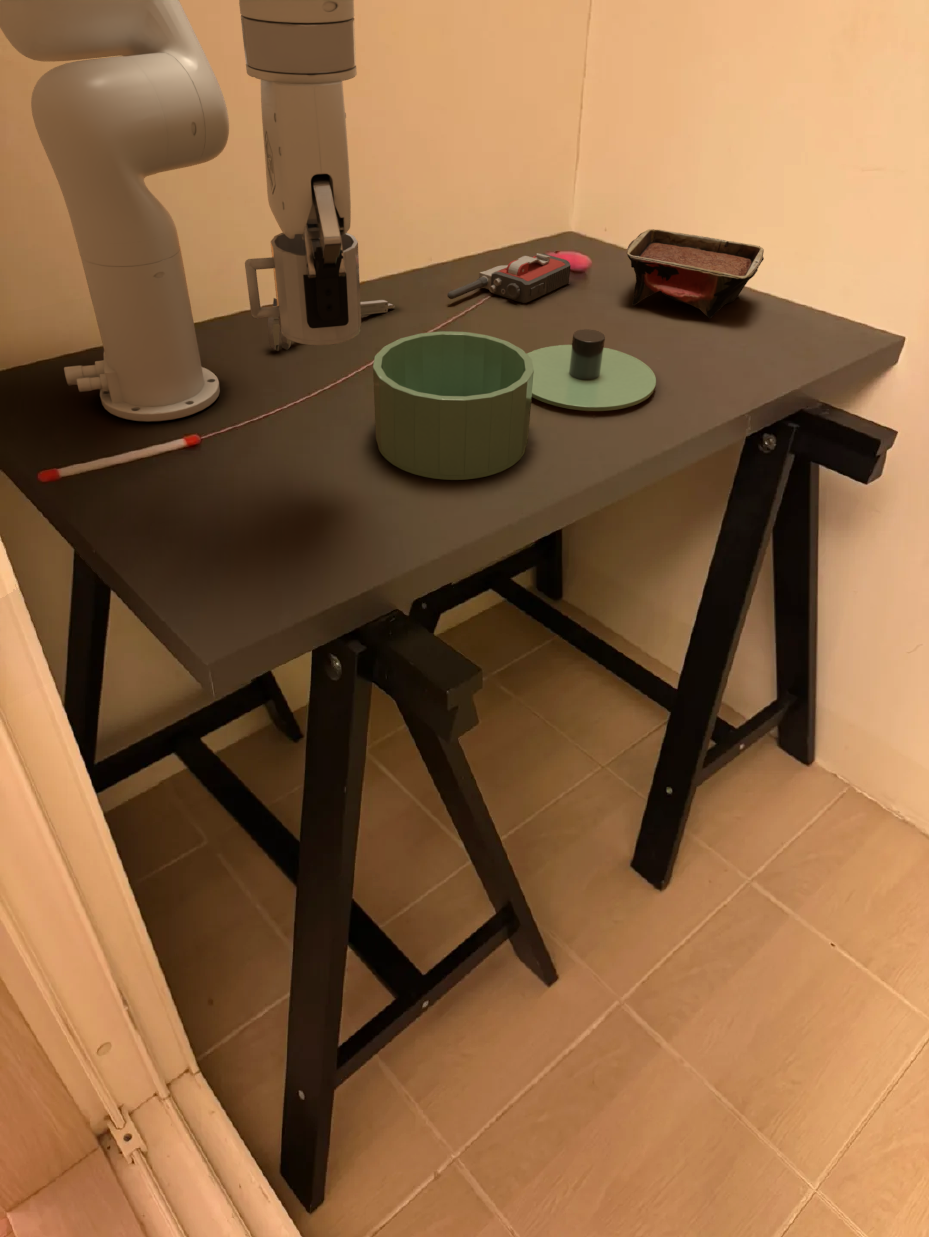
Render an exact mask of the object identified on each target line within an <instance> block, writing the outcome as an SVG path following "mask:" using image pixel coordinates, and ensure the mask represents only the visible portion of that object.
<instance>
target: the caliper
mask: <svg viewBox="0 0 929 1237" xmlns="http://www.w3.org/2000/svg"><path fill="white" fill-rule="evenodd" d="M360 305H361V316H370V315H377V314H379V315H380V314H387V313H388V311H389V309H395V308H396V305H394V304H392V303H389V301H387V300H385V299H376V300H369V301H368V300H367V301H366V300H365V301H360ZM275 306H277V299H276V298H275V297H273V302H272V307H275ZM266 326H267V336H268V342H269V343H268V344H269V348H270V349H272V350H274V351H277V352H279V351H280V339H281V348H282V349H284V350H286V351H288V350H289V349H290V347H291V346H292V342H293V341H291V340H289V339H287V338H286V337H284V336H283V335H282V334H281V331H280V325H279V318H278V317H270V318H267V325H266Z"/></svg>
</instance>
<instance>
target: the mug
mask: <svg viewBox="0 0 929 1237" xmlns="http://www.w3.org/2000/svg"><path fill="white" fill-rule="evenodd" d="M308 231H319V228H308ZM341 239H342V247H343V254H344V262H345V272H346V277H347V296H348V316H349V322H348V324H347V325H345V326H335V327H324V328H310V327H309V325H308V323H307V315H306V303H305V291H304V279H303V275H306V274H307V269H306V262H305V255H304V248H303V240H302V234H295V237H294V239H290V238H288V237H287V236H286V235H285V234H284V233H283V232H280V233H278V234H276V235H274V236H273V237H272V239H271V240H270V250H271V256H270V257H256V258H255V257H254V258H247V259H245V262H244V270H245V276H246V284H247V285H246V286H247V292H248V300H249V309H250V315H251V317H252V318H253V319H256V320H257V319H268V318H270V317H278V318H279V325H280V334H281V336H282V335H283V336H284V337H286V338H287V339H289V340H291V341H292V342H293V343H297V344H301V345H305V346H306V345H307V346H330V345H338V344H343V343H346V342H348V341H350V340H352V339H354V338H356V337H357V336H358V335H359V334H360V332H361V330H362V328H361V326H362V315H361V305H360V302H361V284H360V283H361V282H360V263H359V262H360V258H359V241H358V239H357V238H356V236H355V235H353V234H350V233H349V232H347V233H346V234H344V235H341ZM312 246H313V253H314V252H315V251H316V247H321V246H320V241H319V242H312ZM314 258H315V257H314ZM270 269H271V270H272V269H273V270H272V271H273V278H274V287H275V288H274V289H275V297H276V298H275V299H277V306H275V307H273V306H264V307H261V299H260V292H259V282H258V275H257V270H270Z"/></svg>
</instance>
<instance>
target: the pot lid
mask: <svg viewBox="0 0 929 1237" xmlns="http://www.w3.org/2000/svg"><path fill="white" fill-rule="evenodd" d="M571 340H572V341H571V344H559V345H558V344H557V345H550V346H546V347H545V346H544V347H541V348H538V349H534V350H532V351H530V352H526V354H527V355H528V356H529V357H530V358H531V359H532V363H533V369H534V373H533V385H532V397H531V398H533V399H535V400H537V401H540V402H542V403H544V404H547V405H551V406H554V407H558V408H563V409H568V410H575V411H585V412H604V411H605V412H606V411H616V410H621V409H627V408H631V407H634V406H635V405H638V404H640V403H642V402H644V401H646V400H648V399H649V398H650V397H651V396H652V395H653V393H654V391H655V390H656V387H657V386H656V385H657V377H656V375H655V373H654V371H653V370H652V368H650V366H649V365H647V364H646V363H645V362H643V361H642V360H640V359H639V358H637V357H635V356H632V355H631V354H628V353H626V352H622V351H620V350H617V349H614V348H613V349H612V348H608V347H605V340H606V335H605V334H604V333H603V332H601V331H599V330H595V329H587V328H585V329H579V330H576V331H574V332H573V334H572V339H571Z"/></svg>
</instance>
